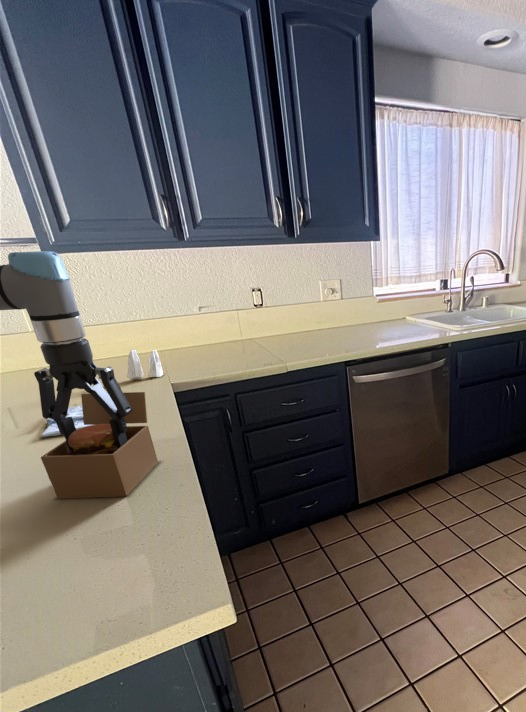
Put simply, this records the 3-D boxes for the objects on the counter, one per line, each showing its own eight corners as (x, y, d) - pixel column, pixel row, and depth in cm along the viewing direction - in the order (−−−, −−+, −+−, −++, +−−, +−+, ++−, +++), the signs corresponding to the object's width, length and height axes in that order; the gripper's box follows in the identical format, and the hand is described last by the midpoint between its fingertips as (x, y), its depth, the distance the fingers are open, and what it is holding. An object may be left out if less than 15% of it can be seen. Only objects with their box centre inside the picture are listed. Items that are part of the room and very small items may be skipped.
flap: (80, 393, 94) (81, 393, 94) (83, 424, 95) (84, 424, 95) (144, 392, 94) (144, 392, 94) (146, 422, 95) (147, 422, 95)
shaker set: (129, 382, 155) (120, 352, 150) (128, 379, 158) (119, 350, 153) (164, 376, 161) (157, 347, 156) (163, 374, 164) (156, 345, 159)
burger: (89, 439, 94) (82, 419, 92) (133, 437, 94) (127, 418, 92) (62, 461, 85) (54, 440, 83) (110, 459, 85) (104, 438, 83)
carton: (57, 498, 86) (40, 457, 82) (98, 464, 99) (84, 427, 95) (126, 496, 86) (113, 455, 82) (158, 462, 99) (147, 425, 95)
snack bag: (128, 404, 135) (126, 397, 134) (118, 428, 118) (115, 421, 117) (58, 413, 129) (55, 407, 128) (35, 440, 112) (32, 433, 111)
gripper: (132, 334, 83) (160, 438, 93) (19, 337, 83) (59, 440, 93) (111, 343, 77) (143, 454, 86) (-12, 346, 76) (34, 457, 86)
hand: (99, 447), depth 89 cm, fingers closed on burger, 9 cm apart
